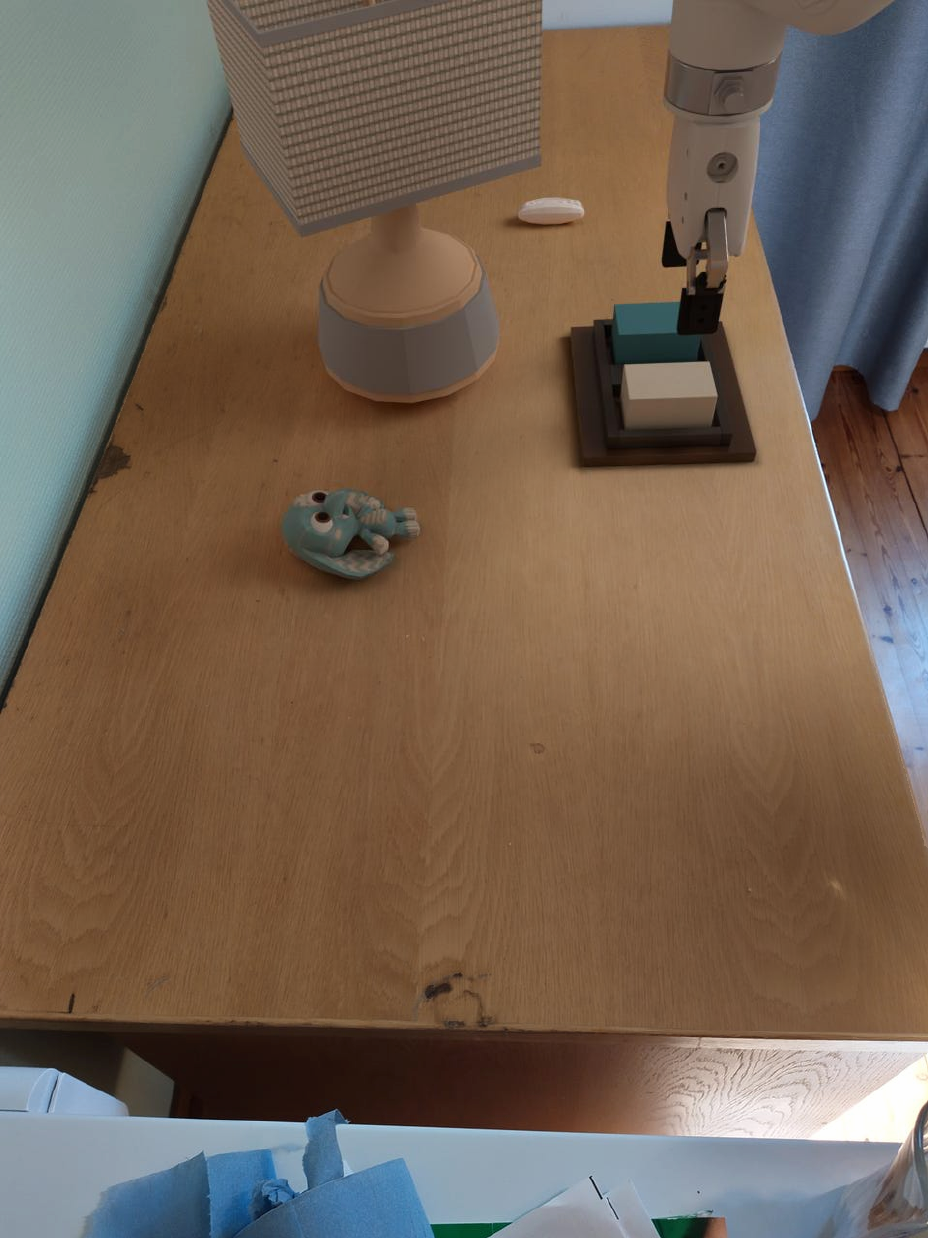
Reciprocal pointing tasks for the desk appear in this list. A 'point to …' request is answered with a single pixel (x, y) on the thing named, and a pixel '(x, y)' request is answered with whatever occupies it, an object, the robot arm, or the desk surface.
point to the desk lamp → (388, 163)
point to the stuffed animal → (344, 531)
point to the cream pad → (667, 395)
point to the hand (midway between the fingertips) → (687, 297)
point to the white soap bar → (551, 211)
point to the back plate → (654, 446)
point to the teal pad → (650, 335)
